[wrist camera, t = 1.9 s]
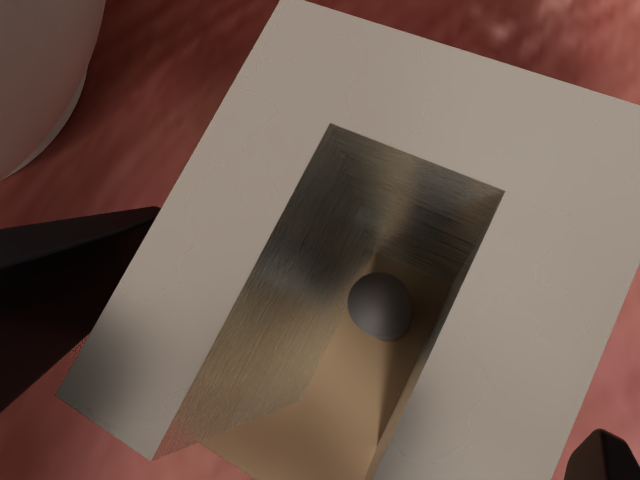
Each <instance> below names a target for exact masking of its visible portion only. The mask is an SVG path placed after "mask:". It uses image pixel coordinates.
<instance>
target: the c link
mask: <svg viewBox="0 0 640 480" xmlns="http://www.w3.org/2000/svg"><path fill="white" fill-rule="evenodd" d="M374 251H375V252H377V253H379V254H381V255H384V256H386V257H388V258H390V259H392V260H394V261H397V262H399V263H401V264H403V265H405V266H408V267H410V268H412V269H414V270H416V271H418V272H421V273H423V274H425V275H427V276H429V277H432V278H434V279H436V280H438V281H440V282H442V283H445V284H447V285H449V286H451V288H450V290H449V292H448V295H447V297H446V299H445V301H444V303H443V305H442V308H441V310H440V312H439V314H438V316H437V318H436V320H435V323H434V325H433V327H432V329H431V331H430V333H429V335H428V338H427V340H426V342H425V344H424V346H423V348H422V351H421V353H420V355H419V357H418V359H417V361H416V363H415V366H414V368H413V370H412V372H411V374H410V376H409V378H408V381H407V383H406V385H405V387H404V389H403V391H402V394H401V396H400V398H399V400H398V402H397V404H396V406H395V409H394V411H393V413H392V415H391V417H390V419H389V421H388V424H387V426H386V428H385V430H384V432H383V434H382V437H381V439H380V441H379V443H378V445H377V447H376V450H375V453H374V455H373V458H372V461H371V463H370V466H369V468H368V471H367V474H366V476H365V479H364V480H551V478H552V476H553V473H554V471H555V469H556V466H557V464H558V461H559V459H560V456H561V454H562V451H563V449H564V446H565V444H566V442H567V439H568V437H569V434H570V432H571V429H572V427H573V424H574V422H575V420H576V417H577V415H578V412H579V410H580V407H581V405H582V402H583V400H584V398H585V395H586V393H587V390H588V388H589V385H590V383H591V380H592V378H593V376H594V373H595V371H596V368H597V366H598V363H599V361H600V358H601V356H602V354H603V351H604V349H605V346H606V344H607V341H608V339H609V336H610V334H611V332H612V329H613V327H614V324H615V322H616V319H617V317H618V314H619V312H620V310H621V307H622V305H623V302H624V300H625V297H626V295H627V292H628V290H629V288H630V285H631V283H632V280H633V278H634V275H635V273H636V270H637V268H638V266H639V263H640V105H637V104H634V103H630V102H627V101H624V100H621V99H618V98H615V97H611V96H608V95H605V94H602V93H599V92H595V91H592V90H589V89H586V88H583V87H579V86H576V85H573V84H570V83H567V82H563V81H560V80H557V79H554V78H551V77H547V76H544V75H541V74H538V73H535V72H531V71H528V70H525V69H522V68H519V67H516V66H512V65H509V64H506V63H503V62H500V61H496V60H493V59H490V58H487V57H484V56H480V55H477V54H474V53H471V52H468V51H464V50H461V49H458V48H455V47H452V46H448V45H445V44H442V43H439V42H436V41H432V40H429V39H426V38H423V37H420V36H416V35H413V34H410V33H407V32H404V31H401V30H397V29H394V28H391V27H388V26H385V25H381V24H378V23H375V22H372V21H369V20H365V19H362V18H359V17H356V16H353V15H349V14H346V13H343V12H340V11H337V10H333V9H330V8H327V7H324V6H321V5H317V4H314V3H311V2H308V1H305V0H280V1H279V3H278V5H277V6H276V8H275V10H274V12H273V13H272V15H271V17H270V19H269V20H268V22H267V24H266V26H265V27H264V29H263V31H262V33H261V35H260V36H259V38H258V40H257V42H256V43H255V45H254V47H253V49H252V50H251V52H250V54H249V56H248V57H247V59H246V61H245V63H244V64H243V66H242V68H241V70H240V71H239V73H238V75H237V77H236V78H235V80H234V82H233V84H232V85H231V87H230V89H229V91H228V92H227V94H226V96H225V98H224V99H223V101H222V103H221V105H220V106H219V108H218V110H217V112H216V113H215V115H214V117H213V119H212V120H211V122H210V124H209V126H208V128H207V129H206V131H205V133H204V135H203V136H202V138H201V140H200V142H199V143H198V145H197V147H196V149H195V150H194V152H193V154H192V156H191V157H190V159H189V161H188V163H187V164H186V166H185V168H184V170H183V171H182V173H181V175H180V177H179V178H178V180H177V182H176V184H175V185H174V187H173V189H172V191H171V192H170V194H169V196H168V198H167V199H166V201H165V203H164V205H163V206H162V208H161V210H160V212H159V213H158V215H157V217H156V219H155V221H154V222H153V224H152V226H151V228H150V229H149V231H148V233H147V235H146V236H145V238H144V240H143V242H142V243H141V245H140V247H139V249H138V250H137V252H136V254H135V256H134V257H133V259H132V261H131V263H130V264H129V266H128V268H127V270H126V271H125V273H124V275H123V277H122V278H121V280H120V282H119V284H118V285H117V287H116V289H115V291H114V292H113V294H112V296H111V298H110V299H109V301H108V303H107V305H106V306H105V308H104V310H103V312H102V314H101V315H100V317H99V319H98V321H97V322H96V324H95V326H94V328H93V329H92V331H91V333H90V335H89V336H88V338H87V340H86V342H85V343H84V345H83V347H82V349H81V350H80V352H79V354H78V356H77V357H76V359H75V361H74V363H73V364H72V366H71V368H70V370H69V371H68V373H67V375H66V377H65V378H64V380H63V382H62V384H61V385H60V387H59V389H58V391H57V392H56V394H55V396H57V397H58V398H59V399H61V400H62V401H64V402H65V403H67V404H68V405H70V406H71V407H73V408H74V409H75V410H77V411H78V412H80V413H81V414H83V415H84V416H86V417H87V418H88V419H90V420H91V421H93V422H94V423H96V424H97V425H99V426H100V427H102V428H103V429H104V430H106V431H107V432H109V433H110V434H112V435H113V436H115V437H116V438H118V439H119V440H120V441H122V442H123V443H125V444H126V445H128V446H129V447H131V448H132V449H133V450H135V451H136V452H138V453H139V454H141V455H142V456H144V457H145V458H147V459H148V460H149V461H153V460H155V459H158V458H160V457H163V456H165V455H168V454H170V453H173V452H175V451H178V450H180V449H183V448H185V447H188V446H190V445H193V444H195V443H198V442H200V441H203V440H205V439H208V438H210V437H213V436H215V435H218V434H220V433H223V432H225V431H228V430H230V429H233V428H235V427H238V426H240V425H243V424H245V423H248V422H250V421H253V420H255V419H258V418H260V417H263V416H266V415H268V414H271V413H273V412H276V411H278V410H281V409H283V408H286V407H288V406H291V405H293V404H296V403H298V402H300V401H301V399H302V397H303V395H304V393H305V391H306V389H307V386H308V384H309V382H310V380H311V378H312V376H313V374H314V372H315V370H316V368H317V366H318V364H319V362H320V360H321V358H322V356H323V354H324V352H325V350H326V348H327V346H328V344H329V342H330V340H331V338H332V336H333V334H334V332H335V330H336V328H337V326H338V324H339V322H340V320H341V318H342V316H343V314H344V312H345V310H346V308H347V306H348V305H347V301H348V295H349V292H350V290H351V288H352V286H353V285H354V284H355V282H356V281H357V280H358V279H360V278H361V277H362V275H363V273H364V271H365V269H366V267H367V265H368V263H369V261H370V259H371V257H372V255H373V253H374Z"/></svg>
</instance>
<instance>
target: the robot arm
mask: <svg viewBox="0 0 640 480" xmlns="http://www.w3.org/2000/svg"><path fill="white" fill-rule="evenodd" d="M160 210H161V208H160V207H157V206H152V207H145V208H139V209H132V210H125V211H119V212H112V213H105V214H98V215H92V216H85V217H78V218H72V219H65V220H58V221H51V222H45V223H38V224H31V225H25V226H18V227H11V228H4V229H0V413H1V412H2V411H3V410H4V409H5V408H7V407H8V406H9V405H10V404H11V403H12V402H13V401H14V400H16V399H17V398H18V397H19V396H20V395H21V394H22V393H23V392H24V391H26V390H27V389H28V388H29V387H30V386H31V385H32V384H33V383H35V382H36V381H37V380H38V379H39V378H40V377H41V376H42V375H43V374H45V373H46V372H47V371H48V370H49V369H50V368H51V367H52V366H54V365H55V364H56V363H57V362H58V361H59V360H60V359H61V358H62V357H64V356H65V355H66V354H67V353H68V352H69V351H70V350H71V349H72V348H74V347H75V346H76V345H77V344H78V343H79V342H80V341H81V340H83V339H84V338H85V337H86V336H87V335H88V334H89V333H90V332H91V331H92V329H93V328H94V326H95V324H96V322H97V321H98V319H99V317H100V315H101V314H102V312H103V310H104V308H105V306H106V305H107V303H108V301H109V299H110V298H111V296H112V294H113V292H114V291H115V289H116V287H117V285H118V284H119V282H120V280H121V278H122V277H123V275H124V273H125V271H126V270H127V268H128V266H129V264H130V263H131V261H132V259H133V257H134V256H135V254H136V252H137V250H138V249H139V247H140V245H141V243H142V242H143V240H144V238H145V236H146V235H147V233H148V231H149V229H150V228H151V226H152V224H153V222H154V221H155V219H156V217H157V215H158V213H159V212H160ZM564 480H640V466H639V464H638V463H637V461H636V459H635V457H634V455H633V453H632V451H631V450H630V448H629V446H628V444H627V443H626V442H625V441H624V440H623V439H622V438H620V437H618V436H616V435H614V434H612V433H610V432H608V431H606V430H604V429H596V430H594V431H593V432H592V433H591V434H590V435H589V436H588V437H587V438H586V439H585V440H584V441H583V442H582V443H581V444H580V446H579V447H578V448H577V449H576V450H575V451H574V452H573V453H572V455H571V456H570V458H569V461H568V464H567V468H566V472H565V477H564Z"/></svg>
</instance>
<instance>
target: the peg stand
mask: <svg viewBox="0 0 640 480" xmlns="http://www.w3.org/2000/svg"><path fill="white" fill-rule="evenodd" d="M450 288H451V286H449V285H447V284H445V283H442V282H440V281H438V280H436V279H434V278H432V277H429V276H427V275H425V274H423V273H421V272H418V271H416V270H414V269H412V268H410V267H408V266H405V265H403V264H401V263H399V262H397V261H394V260H392V259H390V258H388V257H386V256H384V255H381V254H379V253H377V252H375V251H374V253H373V255H372V257H371V259H370V261H369V263H368V265H367V267H366V269H365V271H364V273H363V275H362V277H361V278H360V279H358V280H357V281H356V282H355V284H354V285H353V286H352V288H351V290H350V292H349V295H348V301H347V305H348V306H347V308H346V310H345V312H344V314H343V316H342V318H341V320H340V322H339V324H338V326H337V328H336V330H335V332H334V334H333V336H332V338H331V340H330V342H329V344H328V346H327V348H326V350H325V352H324V354H323V356H322V358H321V360H320V362H319V364H318V366H317V368H316V370H315V372H314V374H313V376H312V378H311V380H310V382H309V384H308V386H307V389H306V391H305V393H304V395H303V397H302V399H301V401H300V402H298V403H296V404H293V405H291V406H288V407H286V408H283V409H281V410H278V411H276V412H273V413H271V414H268V415H266V416H263V417H260V418H258V419H255V420H253V421H250V422H248V423H245V424H243V425H240V426H238V427H235V428H233V429H230V430H228V431H225V432H223V433H220V434H218V435H215V436H213V437H210V438H208V439H205V440H203V441H200V442H199V443H200V444H202V445H203V446H205V447H206V448H208V449H209V450H211V451H212V452H214V453H216V454H217V455H219V456H220V457H222V458H223V459H225V460H226V461H228V462H229V463H231V464H232V465H234V466H235V467H237V468H239V469H240V470H242V471H243V472H245V473H246V474H248V475H249V476H251V477H252V478H254V479H255V480H364V479H365V476H366V474H367V471H368V468H369V466H370V463H371V461H372V458H373V455H374V453H375V450H376V447H377V445H378V443H379V441H380V439H381V437H382V434H383V432H384V430H385V428H386V426H387V424H388V421H389V419H390V417H391V415H392V413H393V411H394V409H395V406H396V404H397V402H398V400H399V398H400V396H401V394H402V391H403V389H404V387H405V385H406V383H407V381H408V378H409V376H410V374H411V372H412V370H413V368H414V366H415V363H416V361H417V359H418V357H419V355H420V353H421V351H422V348H423V346H424V344H425V342H426V340H427V338H428V335H429V333H430V331H431V329H432V327H433V325H434V323H435V320H436V318H437V316H438V314H439V312H440V310H441V308H442V305H443V303H444V301H445V299H446V297H447V295H448V292H449V290H450Z"/></svg>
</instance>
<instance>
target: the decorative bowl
mask: <svg viewBox="0 0 640 480" xmlns="http://www.w3.org/2000/svg"><path fill="white" fill-rule="evenodd" d="M105 3H106V0H0V181H2V180H3V179H4V178H6V177H8V176H10V175H12V174H14V173H15V172H17V171H18V170H20V169H21V168H23V167H24V166H26V165H27V164H28V163H30V162H31V161H32V160H33V159H35V158H36V157H37V156H38V155H39V154H40V153H41V152H42V151H43V150H44V149H45V148H46V147H47V146H48V145H49V144H50V143H51V142H52V141H53V140H54V138H55V137H56V136H57V135H58V133H59V132H60V131H61V130H62V128H63V127H64V125H65V124H66V122H67V121H68V119H69V117H70V116H71V114H72V112H73V110H74V108H75V106H76V104H77V102H78V100H79V97H80V95H81V92H82V89H83V86H84V82H85V79H86V74H87V69H88V64H89V62H90V59H91V56H92V54H93V51H94V48H95V45H96V42H97V38H98V34H99V31H100V27H101V23H102V19H103V13H104V8H105Z"/></svg>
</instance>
